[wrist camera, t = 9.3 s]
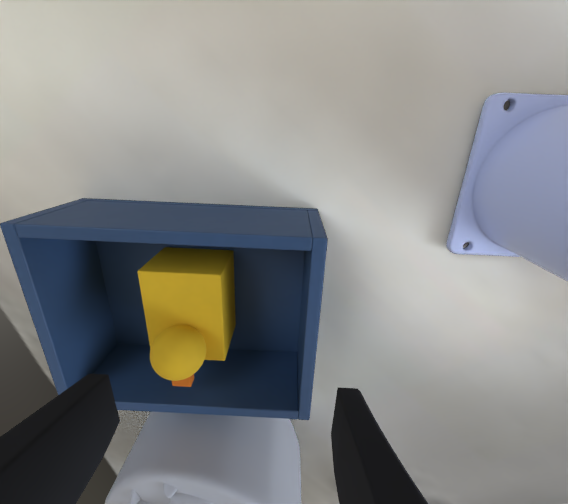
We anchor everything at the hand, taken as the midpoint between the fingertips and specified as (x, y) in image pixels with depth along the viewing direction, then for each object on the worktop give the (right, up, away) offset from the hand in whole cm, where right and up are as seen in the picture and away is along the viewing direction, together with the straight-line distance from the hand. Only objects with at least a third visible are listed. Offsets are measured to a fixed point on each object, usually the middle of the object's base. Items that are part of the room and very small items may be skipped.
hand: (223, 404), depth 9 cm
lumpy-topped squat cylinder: (-3, -9, +14) cm, 17 cm away
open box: (-3, +3, +9) cm, 10 cm away
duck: (-3, +3, +8) cm, 9 cm away
